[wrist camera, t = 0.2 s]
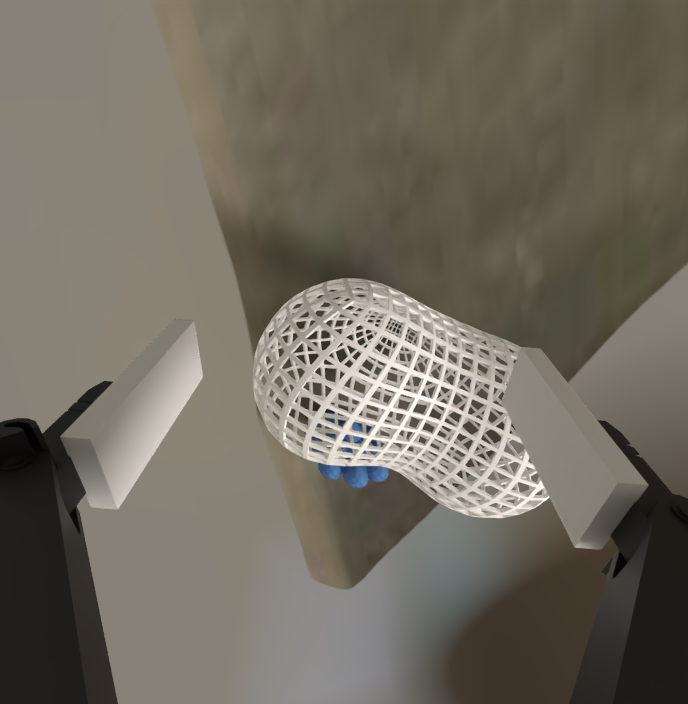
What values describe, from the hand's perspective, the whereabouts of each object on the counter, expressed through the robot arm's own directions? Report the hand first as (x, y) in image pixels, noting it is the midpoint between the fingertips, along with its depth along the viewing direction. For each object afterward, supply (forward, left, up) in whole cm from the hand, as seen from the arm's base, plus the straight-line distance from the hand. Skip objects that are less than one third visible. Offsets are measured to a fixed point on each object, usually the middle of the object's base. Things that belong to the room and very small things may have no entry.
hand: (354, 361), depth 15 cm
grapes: (+25, +1, -28) cm, 38 cm away
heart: (+11, +6, -28) cm, 31 cm away
